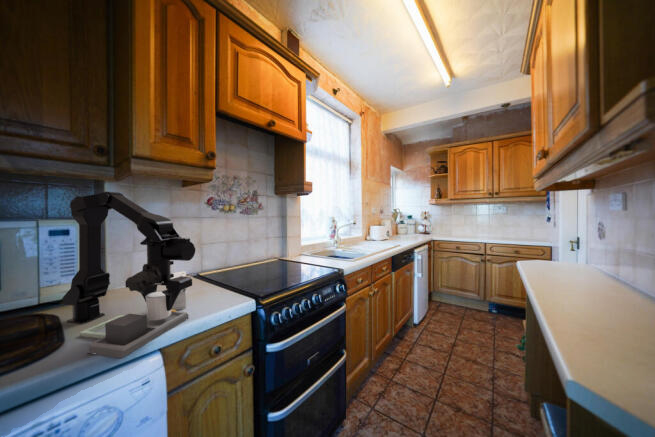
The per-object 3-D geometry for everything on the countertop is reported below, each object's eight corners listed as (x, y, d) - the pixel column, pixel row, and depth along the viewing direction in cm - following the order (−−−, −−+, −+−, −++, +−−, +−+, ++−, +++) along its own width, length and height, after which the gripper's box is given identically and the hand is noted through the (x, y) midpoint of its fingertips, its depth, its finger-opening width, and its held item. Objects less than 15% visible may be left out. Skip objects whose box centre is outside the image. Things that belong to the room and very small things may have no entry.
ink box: (171, 302, 90) (170, 272, 89) (186, 300, 92) (186, 270, 92) (170, 311, 83) (169, 278, 82) (186, 308, 85) (186, 275, 85)
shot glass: (177, 314, 74) (177, 292, 73) (152, 323, 68) (152, 299, 67) (166, 309, 77) (166, 288, 77) (141, 317, 71) (141, 294, 71)
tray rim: (79, 335, 66) (79, 332, 66) (120, 318, 77) (120, 315, 77) (111, 339, 64) (111, 336, 64) (148, 321, 75) (148, 318, 75)
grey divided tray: (88, 353, 58) (87, 327, 58) (162, 315, 79) (162, 296, 79) (121, 358, 56) (120, 331, 56) (188, 318, 77) (188, 298, 77)
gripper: (104, 263, 66) (106, 318, 66) (161, 267, 62) (162, 325, 63) (143, 256, 76) (144, 303, 77) (193, 258, 73) (193, 308, 74)
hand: (160, 309), depth 72 cm, fingers closed on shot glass, 6 cm apart
